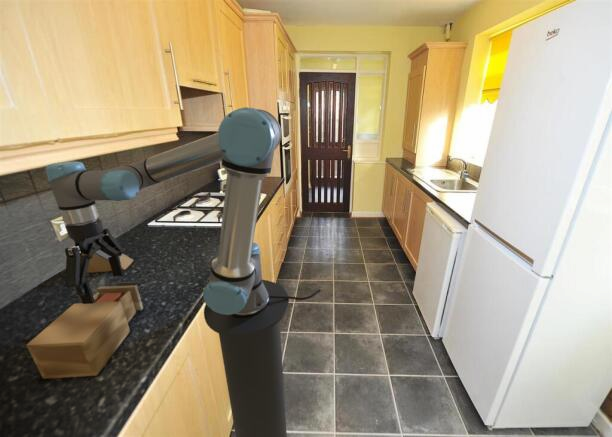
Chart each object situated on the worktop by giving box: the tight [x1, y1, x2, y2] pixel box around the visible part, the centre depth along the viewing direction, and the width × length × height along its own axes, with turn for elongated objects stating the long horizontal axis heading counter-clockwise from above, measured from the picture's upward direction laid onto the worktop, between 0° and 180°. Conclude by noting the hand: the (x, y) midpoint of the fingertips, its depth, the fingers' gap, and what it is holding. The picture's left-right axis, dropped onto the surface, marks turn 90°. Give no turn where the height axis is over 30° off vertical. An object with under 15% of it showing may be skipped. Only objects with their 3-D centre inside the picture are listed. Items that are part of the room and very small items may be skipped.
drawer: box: [93, 281, 144, 323], centre depth 83 cm, size 19×12×9 cm, turn 3°
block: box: [95, 292, 123, 303], centre depth 82 cm, size 5×5×7 cm
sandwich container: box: [82, 250, 134, 274], centre depth 113 cm, size 9×15×15 cm, turn 98°
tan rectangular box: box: [26, 301, 131, 380], centre depth 71 cm, size 15×13×11 cm
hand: (105, 288), depth 79 cm, fingers open, 13 cm apart
